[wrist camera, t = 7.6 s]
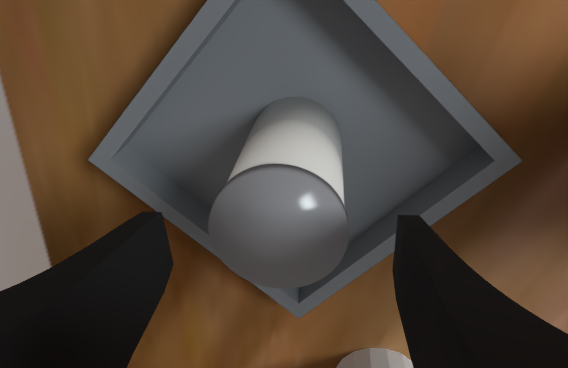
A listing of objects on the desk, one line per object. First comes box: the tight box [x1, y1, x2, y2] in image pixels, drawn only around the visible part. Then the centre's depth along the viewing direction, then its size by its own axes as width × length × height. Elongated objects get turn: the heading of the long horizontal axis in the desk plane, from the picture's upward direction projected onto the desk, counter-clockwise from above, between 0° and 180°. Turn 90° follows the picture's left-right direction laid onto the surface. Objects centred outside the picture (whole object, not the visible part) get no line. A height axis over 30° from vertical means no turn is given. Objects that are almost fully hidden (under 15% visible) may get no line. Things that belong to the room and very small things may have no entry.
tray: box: [88, 0, 522, 318], centre depth 20 cm, size 14×14×2 cm
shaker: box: [208, 97, 349, 289], centre depth 17 cm, size 5×5×8 cm
